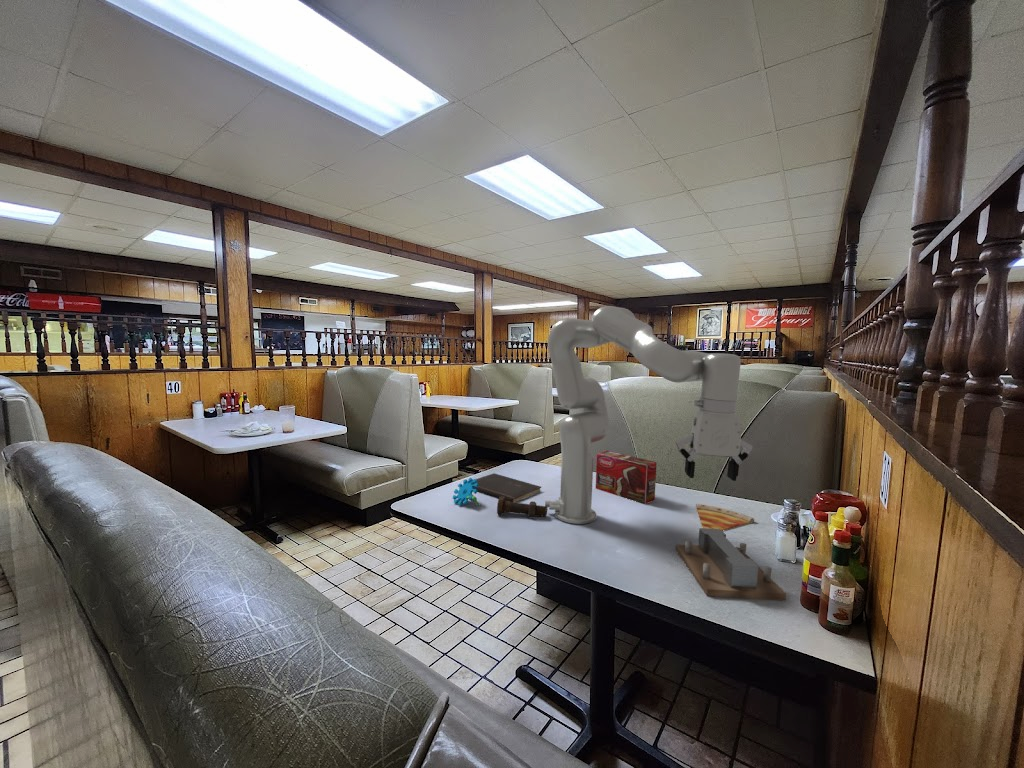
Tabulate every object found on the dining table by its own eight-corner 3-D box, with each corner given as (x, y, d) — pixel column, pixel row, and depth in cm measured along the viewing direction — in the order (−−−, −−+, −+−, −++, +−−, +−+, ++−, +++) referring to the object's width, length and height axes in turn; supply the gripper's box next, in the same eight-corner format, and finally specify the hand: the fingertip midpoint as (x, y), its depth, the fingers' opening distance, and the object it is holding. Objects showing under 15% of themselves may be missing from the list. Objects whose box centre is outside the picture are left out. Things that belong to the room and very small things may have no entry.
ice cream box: (595, 488, 153) (597, 453, 152) (605, 485, 158) (607, 450, 156) (644, 504, 139) (646, 465, 137) (654, 500, 143) (656, 462, 142)
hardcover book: (493, 478, 164) (493, 473, 163) (541, 492, 149) (541, 486, 149) (464, 489, 151) (464, 482, 151) (512, 505, 137) (512, 498, 136)
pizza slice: (661, 517, 130) (661, 510, 130) (709, 505, 140) (709, 499, 140) (705, 537, 116) (705, 530, 116) (754, 523, 126) (754, 517, 126)
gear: (447, 494, 139) (467, 472, 141) (457, 503, 142) (478, 481, 144) (460, 510, 130) (482, 486, 132) (471, 519, 133) (492, 495, 135)
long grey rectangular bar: (731, 587, 88) (732, 565, 88) (698, 547, 106) (699, 528, 106) (756, 589, 88) (758, 566, 88) (719, 548, 106) (720, 529, 105)
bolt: (546, 524, 126) (497, 518, 128) (547, 511, 130) (500, 505, 132) (546, 512, 122) (496, 506, 125) (548, 498, 127) (499, 492, 129)
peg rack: (706, 595, 88) (708, 575, 87) (675, 549, 108) (676, 533, 107) (785, 600, 87) (787, 579, 86) (739, 553, 107) (740, 536, 106)
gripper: (685, 407, 94) (678, 480, 96) (764, 411, 93) (756, 485, 95) (674, 402, 101) (668, 470, 103) (747, 405, 100) (740, 474, 102)
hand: (710, 477), depth 99 cm, fingers open, 9 cm apart
